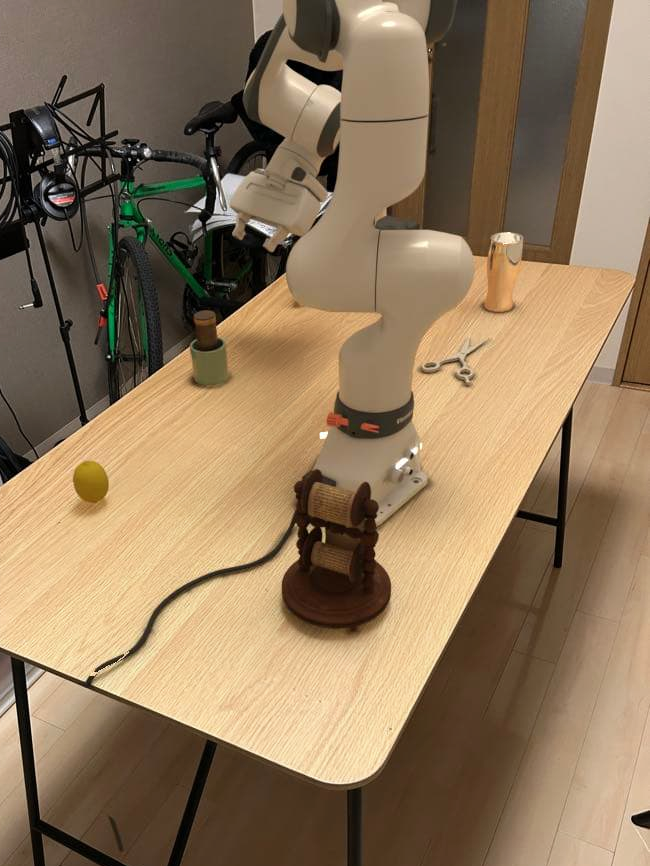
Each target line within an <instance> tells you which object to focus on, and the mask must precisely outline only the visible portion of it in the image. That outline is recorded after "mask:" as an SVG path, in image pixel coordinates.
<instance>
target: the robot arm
mask: <svg viewBox="0 0 650 866" xmlns="http://www.w3.org/2000/svg"><path fill="white" fill-rule="evenodd" d="M457 3H458V0H282V13H281V15H280V16H279V18H278V20H277V22H276V23H275V25H274V27H273V29H272V31H271V33H270V35H269V37H268V40H267V42H266V43H265V46H264V49H263V50H262V52H261V56H260V58H259V60H258V62H257V65H256V67H255V68H254V69H253V71H252V72H251V74H250V76H249V78H248V79H247V81H246V84H245V87H244V91H243V95H242V102H243V107H244V110H245V113H246V115H247V117H248V119H249V120H252V121H254V122H256V123H258V124H261V125H262V126H265V127H267V128H269V129H271V130H272V131H274V132H275V133H277V134H278V135H281V136H282V137H284V139H283V141H282V142H281V143H280V144H279V145H278V146H277V148H276V150H275V152H274V153H273V155H272V157H271V159H270V161H268V164H267V166H266V168H265V169H263V168H261V167H258V168H256V169H255V170H252V171H250V172H249V173H248V174H247V175H246V176H245V177H244V178H243V179H242V181H241V182H240V183H239V185H238V186H237V188H236V189H235V191H234V193H232V196H231V198H230V199H229V207H230V209H231V210H232V211H233V212H235V213H236V214H237V215H236V218H235V227H234V229H233V231H232V233H231V236H233V238H235V239H237V240H239V241H243V239H244V237H245V236H246V234H247V232H246V231H245V228H246V224H248V223H249V222H250V220H252V221H256V222H258V223H261V224H263V225H267V226H270V227H273V228H274V229H275V231H276V232H275V233H274V234H273V235H272V236H270V238H269V237H266V239H265V240H264V243H263V244H262V247H263V248H264V249H265V250H266V251H267V252H270V253H273V252H275V250H276V249H277V246H278V245H279V244H281V243H282V242H284V241H285V240H286V239H287V238H288V236H289V234H291V235H292V234H293V235H295V236H298V237H300V238H299V239H298V240H297V241H296V242H295V244H294V245H293V246H292V248H291V250H290V252H289V255H288V257H287V260H286V265H285V279H286V284H287V287H288V290H289V292H290V294H291V296H292V298H293V299H294V300H295V302H296V303H297V304H298V305H299V306H301V307H305V308H309V309H313V310H318V311H322V312H327V313H376V314H378V315H381V316H380V317H379V318H378V319H377V320H376V321H374V322H373V323H371V324H369V325H368V326H365V327H362V328H361V329H359V330H357V331H356V332H354V333H353V334H351V335H349V337H348V338H347V339H346V340H345V341H344V342H343V343H342V345H341V347H340V350H339V353H338V390H337V392H336V396H335V400H334V403H333V412H332V411H330V412H329V413H328V414H327V416H326V421H325V423H326V425H327V426H329V428H328V431H325V432H319V439H324V441H323V444H322V446H321V447H320V450H319V454H318V456H317V458H316V461H315V463H314V466H313V468H312V469H310V470H309V471H308V472H306V473H305V474H303V475H302V476H301V481H306V479H307V477H308V475H309V474H310V473H311V472H312V471H313V470H315V469H318V470H320V471H321V473H322V479H323V482H322V484H326V485H330V486H334V487H337V488H341V489H345V490H349V491H352V492H357V490H358V488H359V486H360V485H361V484H362V483H363V482H368V483H369V485H370V487H371V499H373V500H375V501H376V502H377V503H378V505H379V510H378V512H377V513H376V514H377V518H376V519H375V522H376V525H377V527H380V526H381V525H382V524H383V523H384V522H385V521H387V520H388V519H389V518H390V517H391V516H393V514H394V513H396V512H397V511H398V510H400V508H402V507H403V506H404V505H405V504H406V503H407V502H409V501H410V500H411V499H412V498H413V497H414V496H415V495H417V493H419V492H420V491H422V490H423V488H425V487H426V486H427V485H428V483H429V480H428V475H427V474H426V473H425V472H424V471H423V470H421V449H422V447H423V443H421V436H420V434H419V432H418V431H417V429H416V427H415V425H414V423H413V420H412V419H413V417H414V410H415V399H414V397H415V396H414V392H413V390H412V389H413V377H414V369H415V363H416V357H417V352H418V349H419V347H420V344H421V342H422V340H423V338H424V337H425V335H426V334H427V332H428V331H429V330H430V329H431V328H432V326H434V324H436V322H437V321H438V320H440V319H441V318H442V317H443V316H444V315H445V314H447V313H449V312H450V311H452V310H454V309H456V308H457V307H458V306H459V305H461V303H462V302H463V301H464V300H465V298H466V297H467V295H468V294H469V292H470V290H471V288H472V285H473V282H474V279H475V272H476V271H475V269H476V267H475V266H476V265H475V258H474V254H473V252H472V250H471V248H470V246H469V243H467V242H466V240H465V239H464V238H463V237H462V236H461V235H457V234H453V233H449V232H443V231H438V230H433V229H420V230H381V231H380V229H376V228H375V217H376V216H377V215H378V214H379V213H380V212H381V211H382V210H384V209H385V208H386V209H387V208H389V207H391V206H393V205H395V204H397V203H399V202H401V201H403V200H404V199H406V198H408V197H409V196H410V195H412V194H413V193H414V192H416V191H417V189H418V188H419V186H420V185H421V184H422V181H423V179H424V177H425V173H426V160H427V145H428V128H429V113H430V111H429V110H430V74H429V73H430V71H429V70H430V68H429V56H428V55H429V54H428V48H427V47H428V46H430V45H433V44H435V43H437V42H439V41H441V40H442V39H443V38H444V37H445V35H447V32H448V31H449V30H450V28H451V26H452V25H453V22H454V19H455V15H456V10H457V5H458V4H457ZM288 60H291V61H296V62H298V63H299V62H300V63H302V64H304V65H308V66H309V67H313V68H315V69H318V70H321V71H325V72H336V71H342V81H341V91H340V90H338V89H336V88H335V87H333V86H331V85H328V84H319V85H317V84H316V83H315V82H312V81H311V80H309V79H308V78H306V77H305V76H303V75H301V74H300V73H298V72H296V71H295V70H293V69H292V68H290V66H289V65H287V62H288ZM338 146H339V150H338V151H339V152H338V162H337V173H336V180H335V185H334V190H333V193H332V195H331V199H330V200H329V203H328V205H327V207H326V208H325V210H324V212H323V214H322V216H321V217H320V218H319V220H318V221H317V223H316V222H315V221H316V219H317V217H318V215H319V213H320V211H321V206H322V203H324V202H325V201H326V200H327V198H328V197H329V192H328V191H327V189H325V187H324V186H323V185H322V184H321V183H320V181H319V180H318V179H317V176H318V175H319V173H320V170H321V166H322V163H323V162H324V160H325V159H326V158H327V157H329V156H330V155H333V154H334V153H335V152H336V150H337V148H338ZM314 223H315V225H314V226H313V224H314ZM296 511H297V509H296V508H295V510H294V512H293V514H292V517H291V520H290V524H289V526H288V528H287V529H286V531H285V533H284V534H283V536H282V537H281V539H280V541H279V543H278V544H277V546H275V547H274V548H273V549H272V550H271V551H270V552H269V553H267V554H266V555H264V556H262V557H261V558H259V559H257V560H254V561H251V562H248V563H245V564H241V565H236V566H232V567H225V568H221V569H217V570H214V571H211V572H209V573H206V574H203V575H202V576H199V577H197V578H195V579H193V580H191V581H189V582H187V583H185V584H183V585H181V586H180V587H179V588H177V589H175V590H174V591H173V592H172V593H170V594H169V595H168V596H166V597H165V599H163V600H162V601H161V602H160V603H159V604H158V605H157V606H156V607H155V609H154V610H153V612H151V615H150V618H149V620H148V622H147V624H146V627H145V629H144V630H143V631H144V632H143V633H142V635H141V637H140V638H139V639H138V641H137V642H136V643H135V644H134V646H133V647H131V648H130V649H129V650H127V651H126V652H128V651H129V653H128V654H127V655H126V656H125V657H124V658H123V659H121V660H120V661H118V660H119V659H120V658H122V657H123V656H124V653H122V654H120V655H118V656H117V655H116V657H113V658H111V659H109V660H106V661H105V662H103V663H101V664H100V665H98V666H97V667H96V668H94V670H95V671H94V670H93V671H94V672H98V671H99V670H101V669H103V668H105V667H106V666H108V665H110V666H108V667H111V666H113V665H114V664H113V663H115V662H116V663H115V664H117V663H119V662H121V661H123V660H124V661H125V660H126V659H128V658H129V657H131V656H132V655H134V654H135V653H136V652H138V650H139V649H140V648H141V647H142V646H143V645H144V643H145V642H146V641H147V639H148V637H149V635H150V633H151V631H152V628H153V625H154V623H155V621H156V619H157V617H158V615H159V614H160V612H161V611H162V610H163V609H164V608H165V606H166V605H167V604H169V603H170V602H171V601H172V600H174V598H176V597H178V595H180V594H181V593H183V592H184V591H186V590H188V589H190V588H191V587H193V586H195V585H198V584H200V583H202V582H205V581H207V580H209V579H211V578H214V577H217V576H220V575H224V574H229V573H235V572H239V571H240V572H241V571H244V570H248V569H251V568H255V567H257V566H259V565H261V564H264V563H265V562H266V561H268V560H270V559H271V558H272V557H274V556H275V555H276V554H278V553H279V551H281V549H282V547H283V546H284V545H285V543H286V542H287V540H288V539H289V537H290V535H292V532H293V530H294V528H295V525H296V523H295V522H294V515H295V513H296ZM323 520H324V519H323ZM117 661H118V662H117ZM111 664H112V665H111ZM108 667H107V668H108ZM105 669H106V668H105ZM103 670H104V669H103ZM97 675H98V674H96V675H95V676H90V674H89V676H88V677H87V678H86V680H85V682H84V683H83V688H89V687H90V686H91V684H92V682H93V681H94V679H95V678H96V677H97ZM107 817H108V821H109V823H110V825H111V829H112V833H113V835H114V838H115V841H116V845H117V849H118V851H119V852H120V853H122V852H124V850H125V849H124V846H123V841H122V838H121V835H120V832H119V829H118V825H117V822H116V820H115V819H114V818H113V817H112V816H111V815H109V814H107Z"/></svg>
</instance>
